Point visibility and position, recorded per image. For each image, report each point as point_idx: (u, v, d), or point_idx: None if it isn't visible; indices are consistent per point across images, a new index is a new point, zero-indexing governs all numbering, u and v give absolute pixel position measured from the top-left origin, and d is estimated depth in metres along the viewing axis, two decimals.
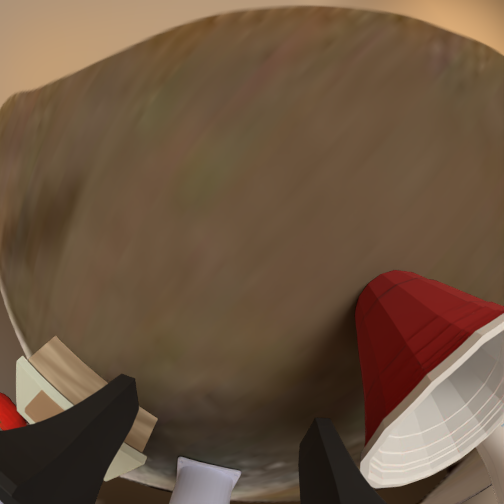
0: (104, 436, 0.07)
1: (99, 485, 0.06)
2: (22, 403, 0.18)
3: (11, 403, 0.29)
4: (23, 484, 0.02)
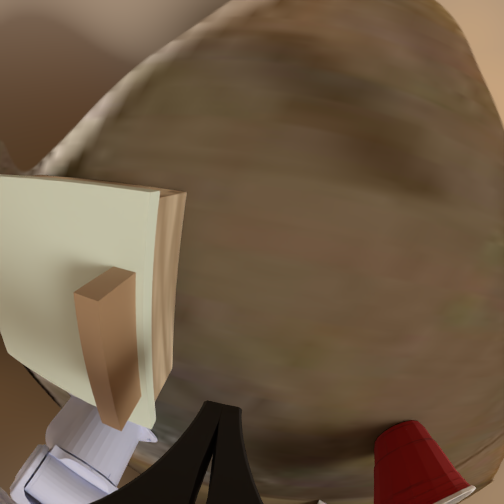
0: (202, 470, 0.06)
1: None
2: (15, 196, 0.11)
3: None
4: None
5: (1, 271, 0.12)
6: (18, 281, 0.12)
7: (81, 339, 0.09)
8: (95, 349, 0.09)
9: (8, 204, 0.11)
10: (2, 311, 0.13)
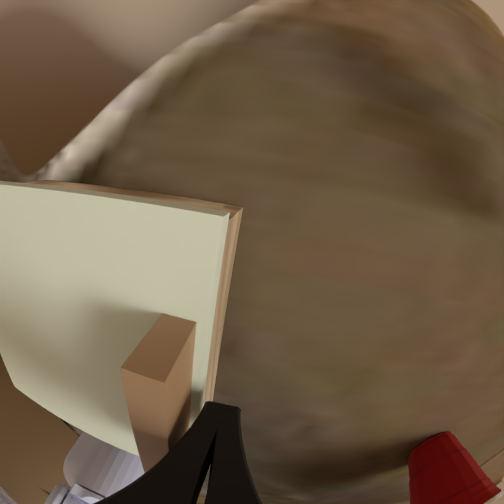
0: (204, 470, 0.06)
1: None
2: (14, 211, 0.08)
3: None
4: None
5: (1, 301, 0.10)
6: (24, 316, 0.10)
7: (130, 416, 0.06)
8: (153, 429, 0.06)
9: (5, 220, 0.08)
10: (5, 344, 0.11)
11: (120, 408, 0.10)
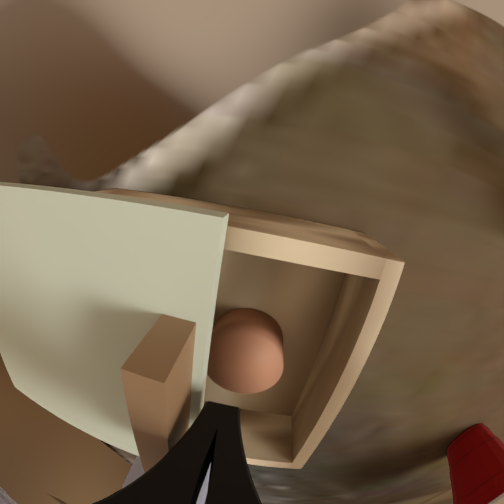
0: (204, 470, 0.06)
1: None
2: (14, 212, 0.08)
3: None
4: None
5: (1, 302, 0.10)
6: (24, 317, 0.10)
7: (131, 416, 0.06)
8: (153, 429, 0.06)
9: (5, 221, 0.08)
10: (5, 345, 0.11)
11: (120, 408, 0.10)
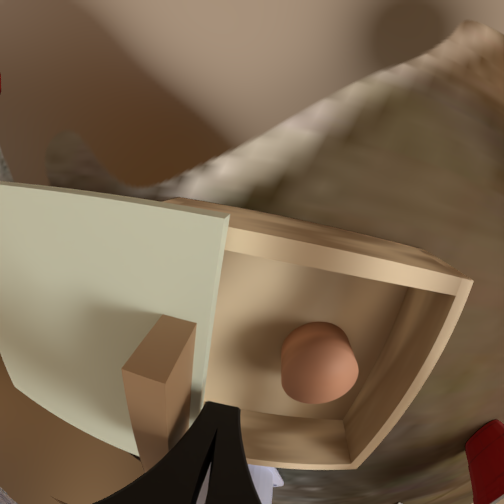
0: (204, 470, 0.06)
1: None
2: (14, 211, 0.08)
3: None
4: None
5: (1, 301, 0.10)
6: (24, 316, 0.10)
7: (131, 417, 0.06)
8: (154, 429, 0.06)
9: (6, 221, 0.08)
10: (5, 344, 0.11)
11: (120, 408, 0.10)
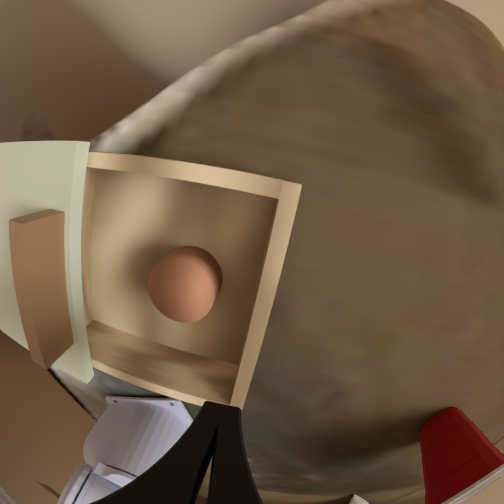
0: (202, 470, 0.06)
1: None
2: None
3: None
4: None
5: None
6: None
7: (12, 265, 0.09)
8: (20, 273, 0.09)
9: None
10: None
11: None
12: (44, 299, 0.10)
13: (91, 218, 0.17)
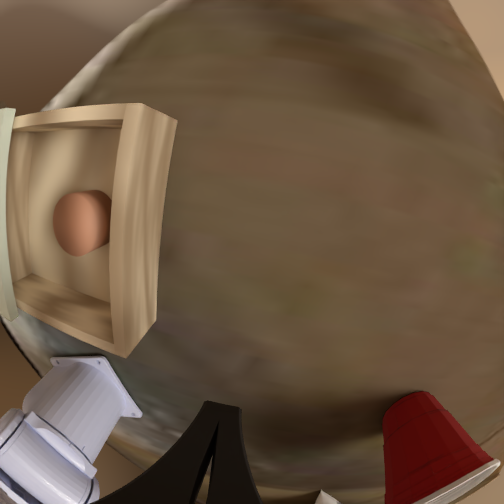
0: (202, 470, 0.06)
1: None
2: None
3: None
4: None
5: None
6: None
7: None
8: None
9: None
10: None
11: None
12: None
13: (29, 178, 0.16)
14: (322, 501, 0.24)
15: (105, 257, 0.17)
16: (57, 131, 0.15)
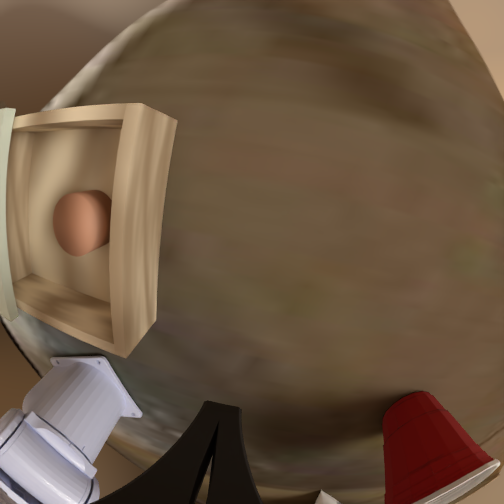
0: (202, 470, 0.06)
1: None
2: None
3: None
4: None
5: None
6: None
7: None
8: None
9: None
10: None
11: None
12: None
13: (29, 178, 0.16)
14: (322, 501, 0.24)
15: (105, 257, 0.17)
16: (57, 131, 0.15)
